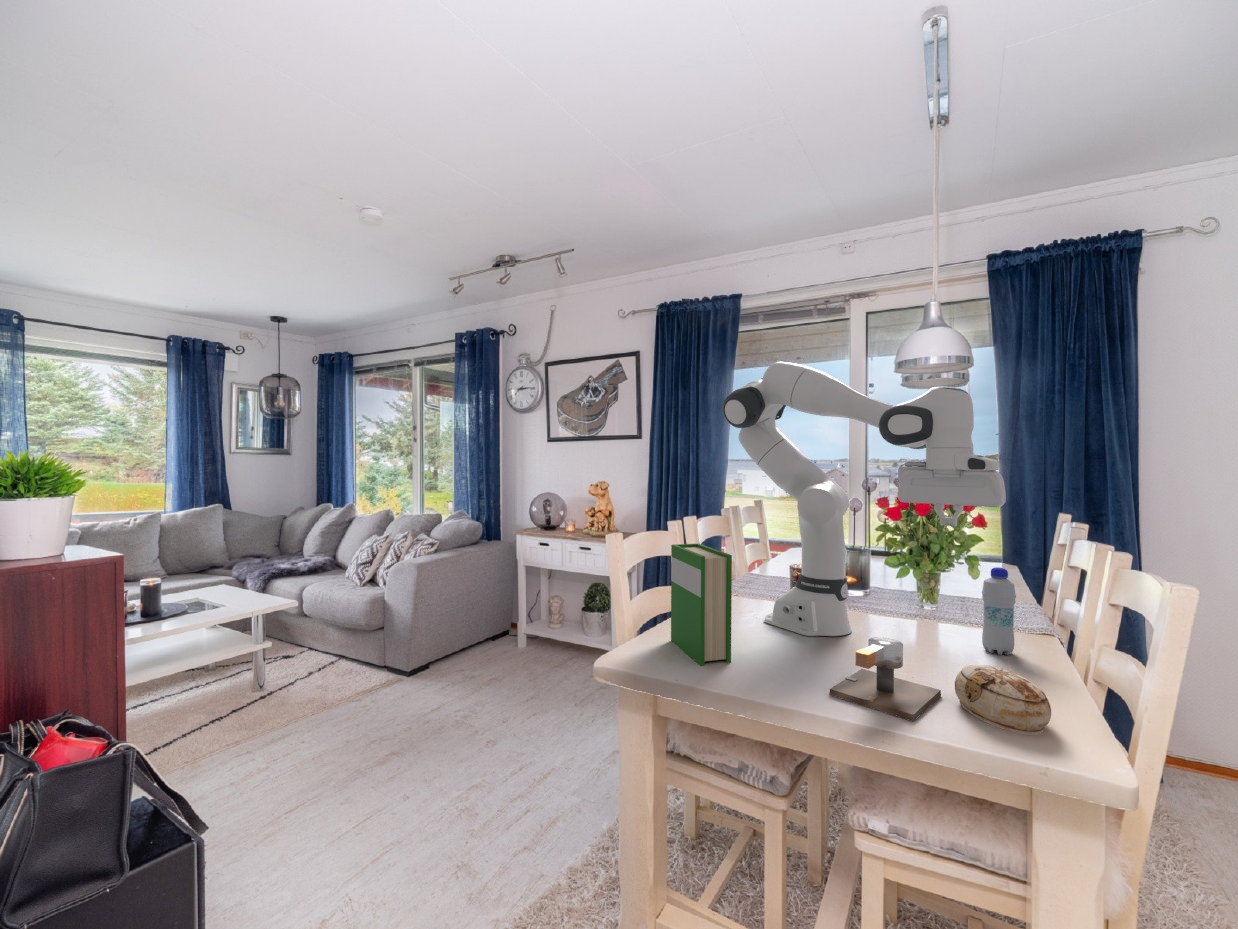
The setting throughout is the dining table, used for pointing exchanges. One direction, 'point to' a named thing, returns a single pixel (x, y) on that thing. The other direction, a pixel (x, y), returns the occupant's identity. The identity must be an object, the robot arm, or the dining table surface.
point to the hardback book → (701, 602)
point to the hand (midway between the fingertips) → (948, 525)
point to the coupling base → (886, 693)
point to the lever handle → (881, 654)
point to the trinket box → (1003, 699)
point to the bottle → (998, 612)
